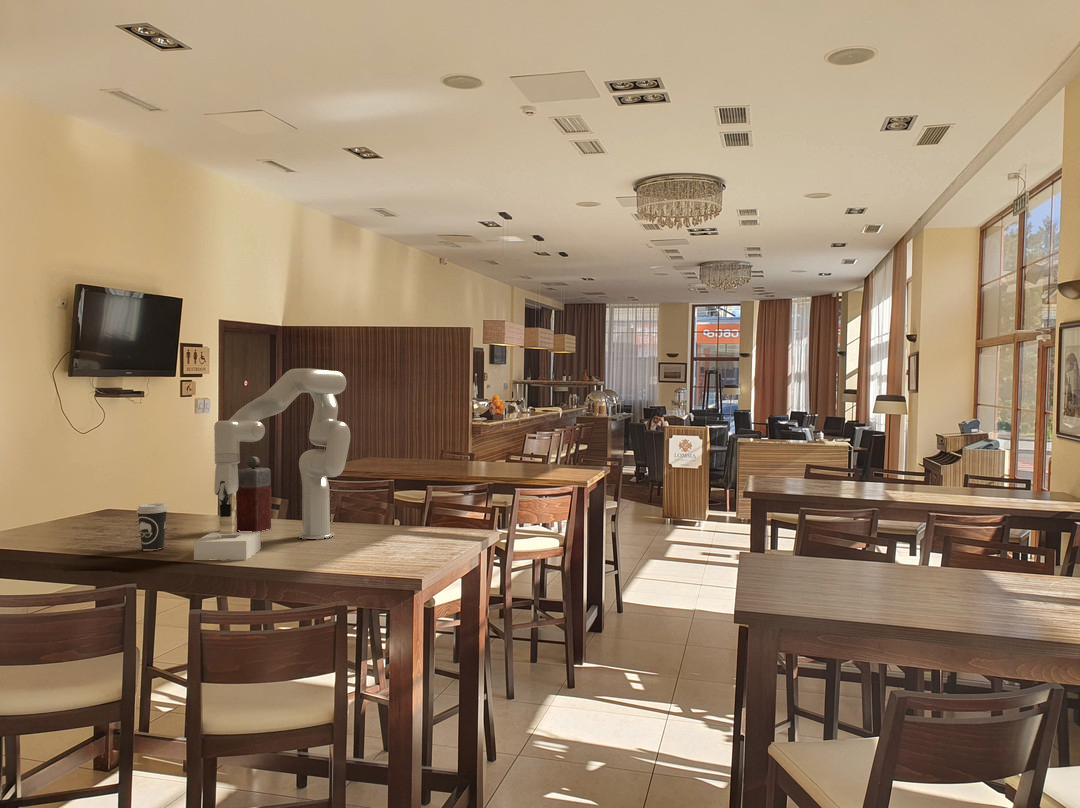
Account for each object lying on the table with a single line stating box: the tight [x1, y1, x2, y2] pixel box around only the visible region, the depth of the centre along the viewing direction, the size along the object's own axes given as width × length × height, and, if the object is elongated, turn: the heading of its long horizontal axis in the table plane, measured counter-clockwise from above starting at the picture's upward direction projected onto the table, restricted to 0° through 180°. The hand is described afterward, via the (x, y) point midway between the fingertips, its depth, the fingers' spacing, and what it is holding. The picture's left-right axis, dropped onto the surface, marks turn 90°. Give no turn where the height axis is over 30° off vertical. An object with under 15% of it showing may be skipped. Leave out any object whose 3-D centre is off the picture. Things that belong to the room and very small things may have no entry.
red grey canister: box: [236, 456, 272, 532], centre depth 300 cm, size 9×11×28 cm
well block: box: [193, 531, 262, 561], centre depth 255 cm, size 16×16×6 cm
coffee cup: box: [135, 503, 169, 550], centre depth 263 cm, size 10×10×15 cm
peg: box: [218, 489, 237, 534], centre depth 254 cm, size 4×4×15 cm
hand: (227, 514), depth 254 cm, fingers closed on peg, 4 cm apart
